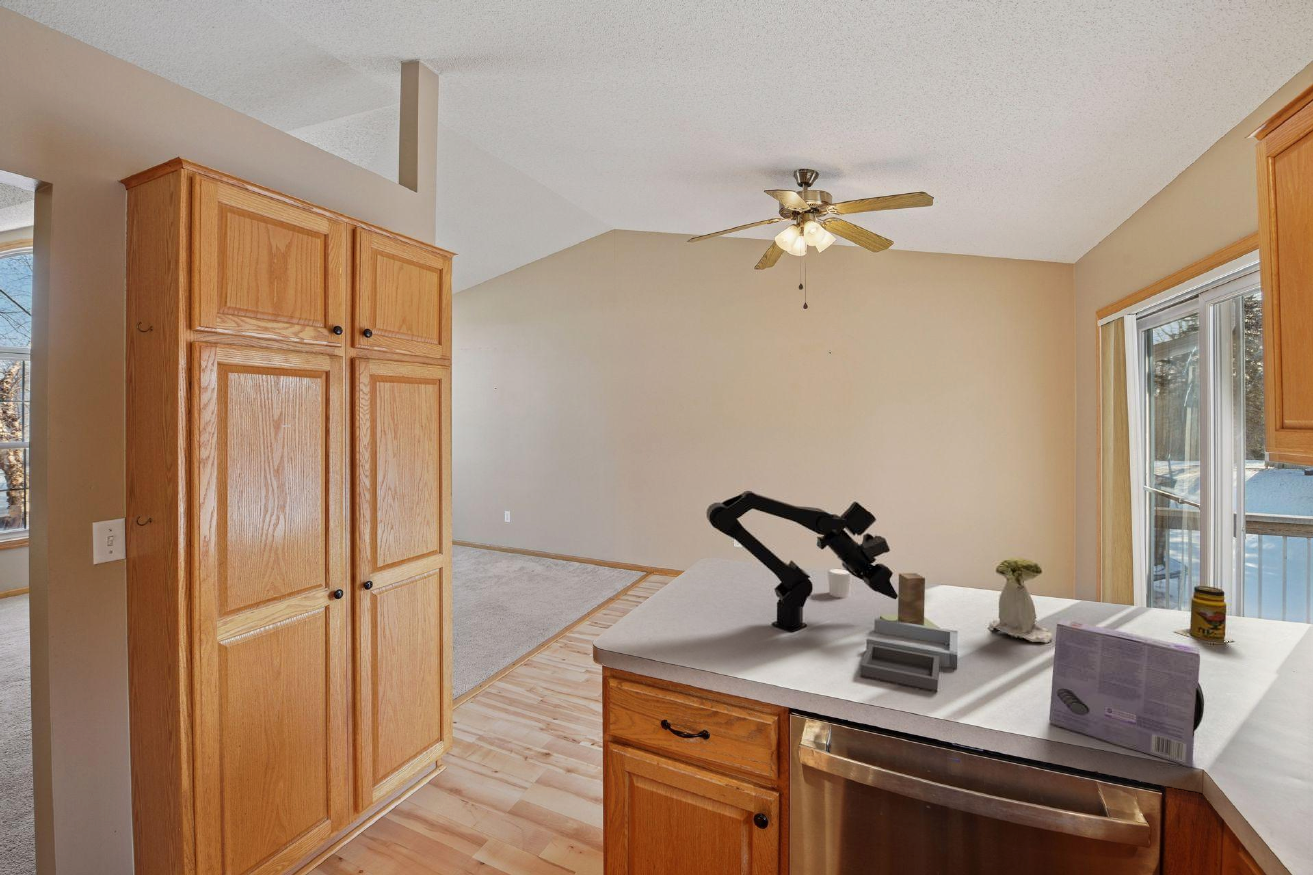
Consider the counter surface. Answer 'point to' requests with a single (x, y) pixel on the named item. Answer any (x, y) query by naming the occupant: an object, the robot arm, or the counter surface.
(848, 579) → the white cup
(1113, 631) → the cake pan box
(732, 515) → the robot arm
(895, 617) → the mat
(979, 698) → the counter surface
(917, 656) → the tray
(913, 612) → the walnut block
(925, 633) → the channel
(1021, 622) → the mushroom
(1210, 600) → the condiment
